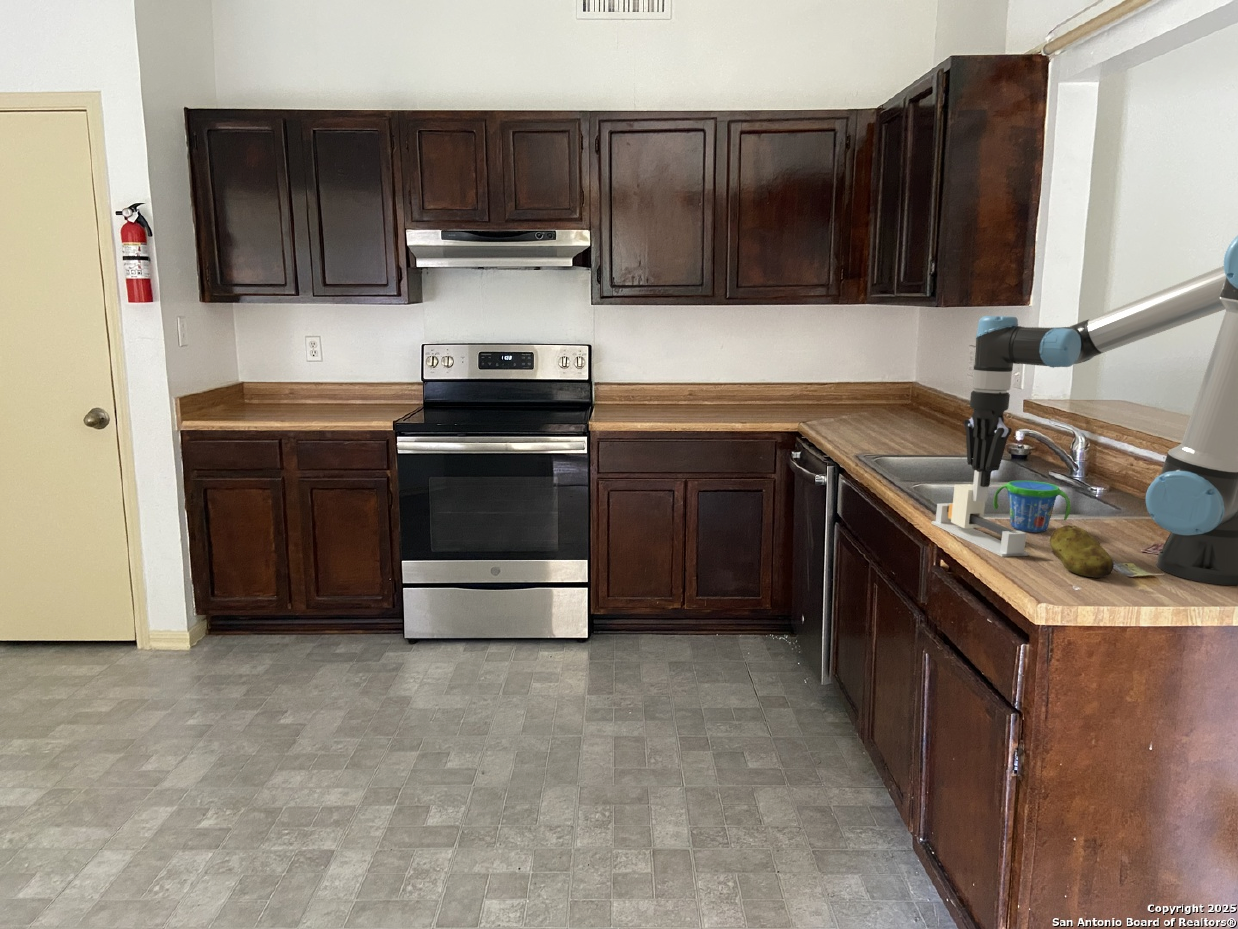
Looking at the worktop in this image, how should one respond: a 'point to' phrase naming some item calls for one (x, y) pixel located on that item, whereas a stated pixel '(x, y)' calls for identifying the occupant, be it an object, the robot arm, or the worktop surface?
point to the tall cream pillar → (965, 506)
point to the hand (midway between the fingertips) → (979, 500)
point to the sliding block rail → (1006, 547)
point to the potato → (1080, 552)
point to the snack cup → (1031, 504)
